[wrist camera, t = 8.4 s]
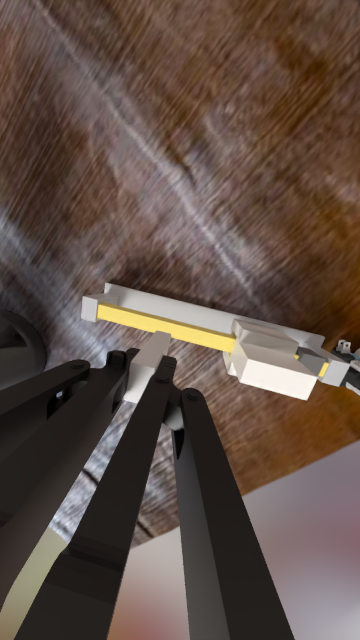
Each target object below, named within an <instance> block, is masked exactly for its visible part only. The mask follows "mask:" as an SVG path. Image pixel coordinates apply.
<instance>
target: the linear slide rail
mask: <svg viewBox="0 0 360 640" xmlns="http://www.w3.org/2000/svg"><path fill="white" fill-rule="evenodd" d="M102 303H109V304H113V305H117V306H121V307H125V308H129V309H133V310H137V311H141V312H144V313H148V314H152V315H156V316H160V317H164V318H168V319H172V320H176V321H180V322H184V323H188V324H191V325H195V326H199V327H203V328H207V329H211V330H215V331H219V332H223V333H227V334H229V332H230V329H231V326H232V323H233V320H234V318H235V319H239V320H243V321H247V322H251V323H255V324H259V325H263V326H267V327H271V328H275V329H278V330H280V331H281V332H283V333H284V334H286V335H287V336H289V337H290V338H292V339H293V340H295V341H297V342H298V343H300V344H299V346H300V347H304V348H308V349H311V350H312V351H314V352H316V353H317V354H319V355H320V356H322V357H323V358H325V359H326V362H327V363H329V365H328V367H327V369H326V371H325V373H324V375H323V377H321V376H318V378H317V379H318V380H320V381H321V382H323V383H327V384H330V385H334V386H338V387H339V385H340V383H341V382H342V380H343V378H344V376H345V374H346V372H347V370H348V369H349V367H350V365H351V364H349V363H347V362H345V361H343V360H342V359H340V358H338V357H336V356H335V355H333V354H331V353H329V352H328V351H326V350H324V349H322V348H321V346H322V343H323V341H324V339H325V337H324V336H322V335H317V334H313V333H309V332H305V331H301V330H297V329H293V328H289V327H285V326H281V325H277V324H273V323H269V322H265V321H261V320H257V319H253V318H249V317H245V316H240V315H236V314H232V313H228V312H224V311H220V310H216V309H212V308H208V307H204V306H200V305H196V304H192V303H188V302H184V301H180V300H176V299H172V298H168V297H163V296H159V295H155V294H151V293H147V292H143V291H139V290H135V289H131V288H127V287H123V286H119V285H115V284H111V283H105V291H104V293H103V294H96V295H89V296H83V301H82V313H81V319H85V320H89V321H92V322H97V321H100V320H102V319H100V318H97V309H98V304H102Z"/></svg>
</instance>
